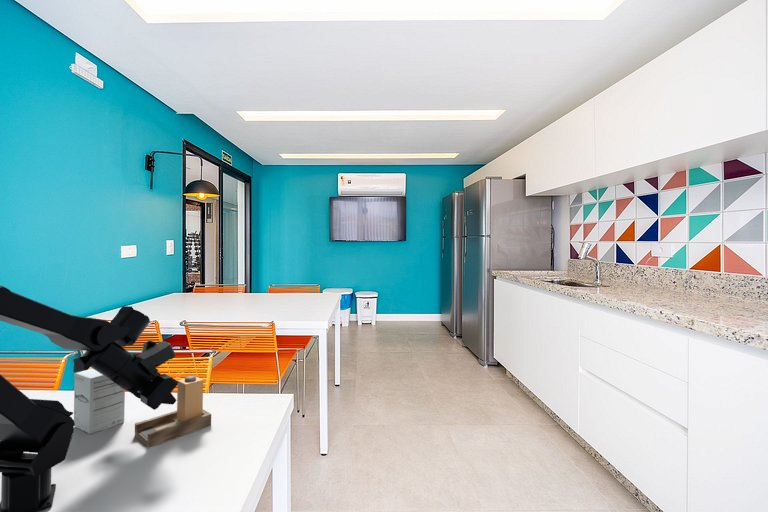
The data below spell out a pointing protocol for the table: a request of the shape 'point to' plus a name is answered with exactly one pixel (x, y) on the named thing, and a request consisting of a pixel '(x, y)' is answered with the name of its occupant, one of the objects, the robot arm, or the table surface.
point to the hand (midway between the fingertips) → (174, 402)
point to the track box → (168, 428)
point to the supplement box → (97, 402)
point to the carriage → (189, 398)
